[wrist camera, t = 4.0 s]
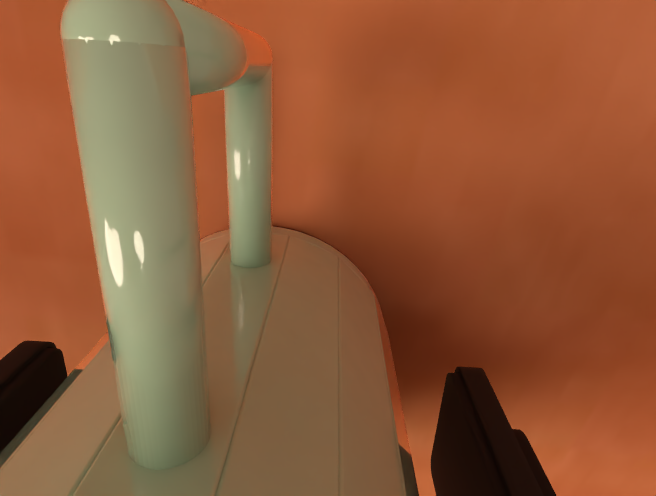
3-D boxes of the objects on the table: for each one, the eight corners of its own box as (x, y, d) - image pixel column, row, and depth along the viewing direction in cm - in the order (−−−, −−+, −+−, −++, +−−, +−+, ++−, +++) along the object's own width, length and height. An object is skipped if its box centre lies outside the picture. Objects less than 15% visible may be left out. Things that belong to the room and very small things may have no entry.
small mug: (373, 431, 14) (423, 946, 6) (160, 419, 14) (-93, 918, 6) (419, 47, 10) (852, -68, 2) (113, 30, 10) (-1073, -174, 2)
